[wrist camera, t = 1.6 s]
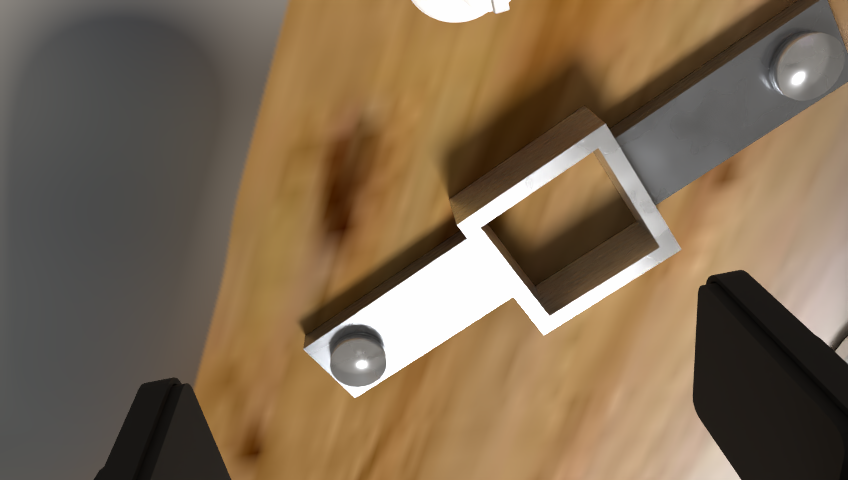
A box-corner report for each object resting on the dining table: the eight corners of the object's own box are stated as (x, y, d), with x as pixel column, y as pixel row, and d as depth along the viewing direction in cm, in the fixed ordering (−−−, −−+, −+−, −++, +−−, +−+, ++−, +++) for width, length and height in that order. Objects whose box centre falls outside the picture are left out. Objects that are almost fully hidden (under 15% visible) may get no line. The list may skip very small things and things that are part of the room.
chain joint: (795, -42, 29) (839, -37, 26) (850, 99, 32) (895, 116, 29) (283, 314, 35) (276, 348, 32) (374, 402, 38) (375, 439, 35)
